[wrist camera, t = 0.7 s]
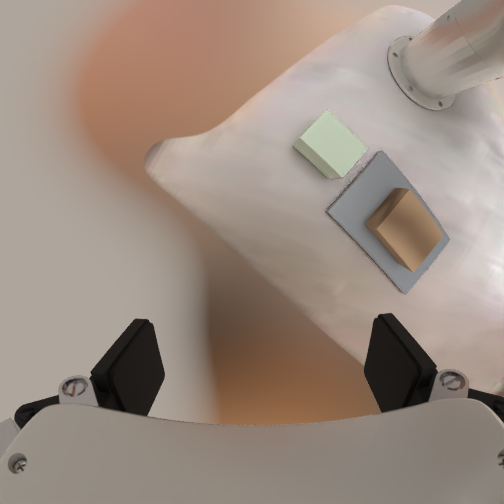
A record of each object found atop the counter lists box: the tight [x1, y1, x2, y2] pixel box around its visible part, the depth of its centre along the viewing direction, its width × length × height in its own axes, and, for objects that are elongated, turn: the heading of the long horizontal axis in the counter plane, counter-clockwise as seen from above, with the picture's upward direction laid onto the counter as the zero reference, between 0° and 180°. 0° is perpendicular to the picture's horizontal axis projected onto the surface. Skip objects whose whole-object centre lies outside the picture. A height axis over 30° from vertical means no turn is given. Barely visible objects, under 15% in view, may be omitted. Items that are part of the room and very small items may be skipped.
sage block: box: [293, 109, 368, 179], centre depth 28 cm, size 4×6×6 cm
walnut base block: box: [364, 188, 443, 273], centre depth 30 cm, size 6×8×4 cm
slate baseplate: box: [326, 151, 450, 295], centre depth 32 cm, size 11×17×1 cm, turn 49°
